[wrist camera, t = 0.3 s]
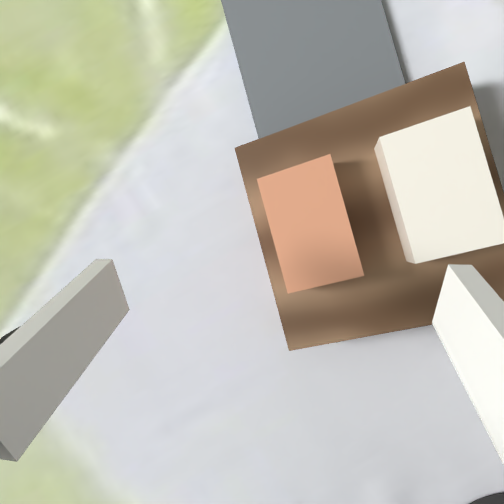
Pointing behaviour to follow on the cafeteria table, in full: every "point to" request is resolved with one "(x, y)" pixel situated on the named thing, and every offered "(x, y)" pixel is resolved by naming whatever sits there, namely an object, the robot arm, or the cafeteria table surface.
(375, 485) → the cafeteria table surface
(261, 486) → the cafeteria table surface
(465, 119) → the cream tile
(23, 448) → the robot arm
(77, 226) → the cafeteria table surface
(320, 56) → the mat
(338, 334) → the deck
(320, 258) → the terracotta tile
